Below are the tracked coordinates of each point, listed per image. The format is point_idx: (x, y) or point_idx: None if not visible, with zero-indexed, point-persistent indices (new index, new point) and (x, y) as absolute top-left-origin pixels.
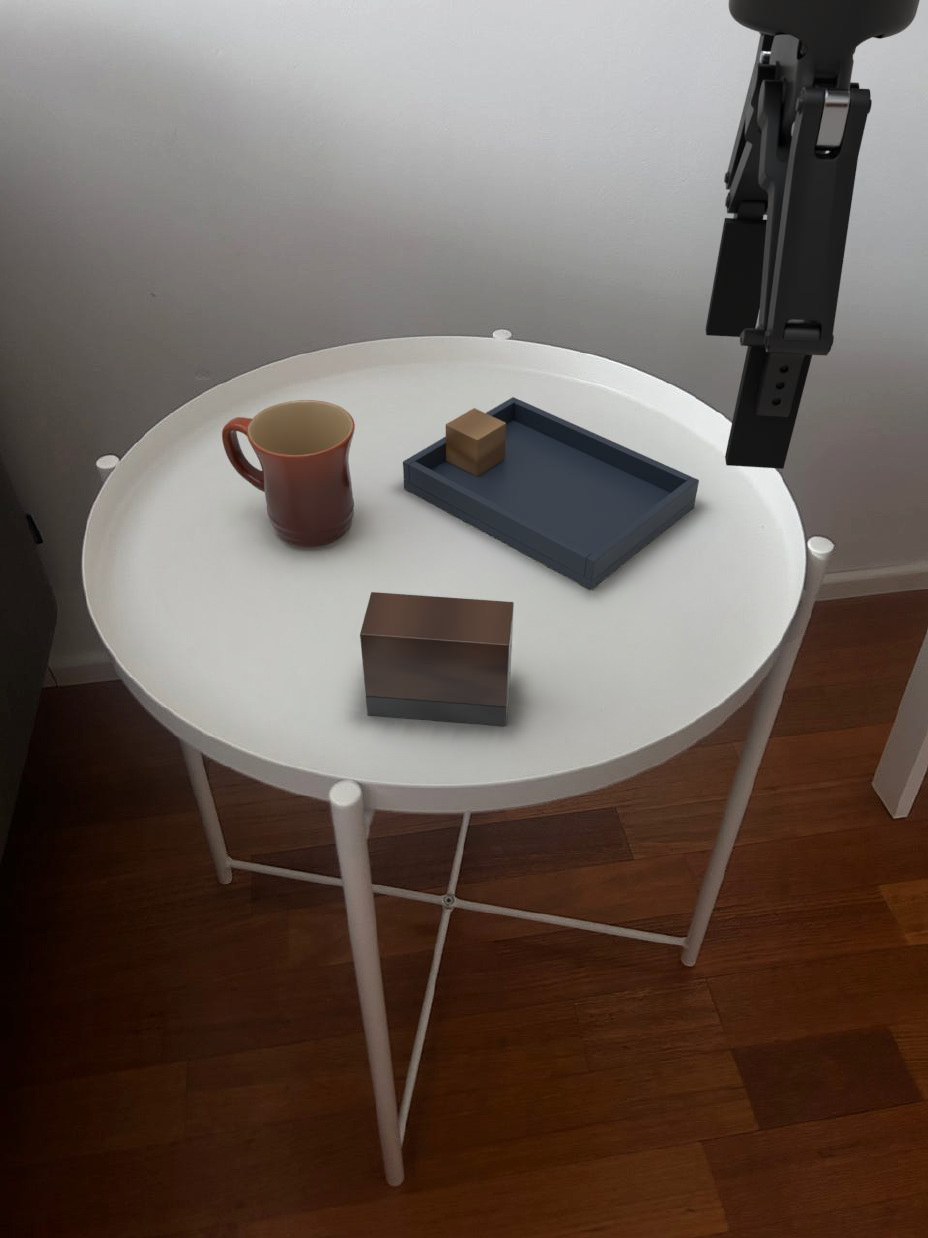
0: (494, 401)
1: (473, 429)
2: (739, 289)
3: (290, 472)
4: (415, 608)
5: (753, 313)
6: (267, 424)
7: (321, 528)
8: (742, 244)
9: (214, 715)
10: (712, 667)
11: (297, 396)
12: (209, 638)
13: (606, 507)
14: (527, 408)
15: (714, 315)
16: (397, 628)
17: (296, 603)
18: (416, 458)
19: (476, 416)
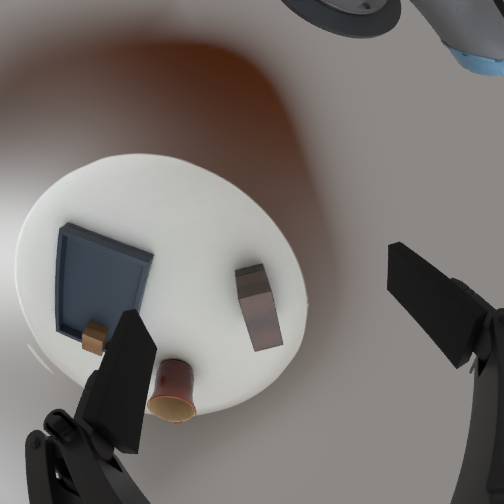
0: (54, 332)
1: (96, 345)
2: (135, 368)
3: (192, 400)
4: (259, 333)
5: (130, 331)
6: (171, 415)
7: (187, 371)
8: (128, 419)
9: (289, 353)
10: (185, 180)
11: None
12: (253, 371)
13: (94, 266)
14: (58, 323)
15: (151, 360)
16: (275, 334)
17: (222, 358)
18: None
19: (87, 346)
